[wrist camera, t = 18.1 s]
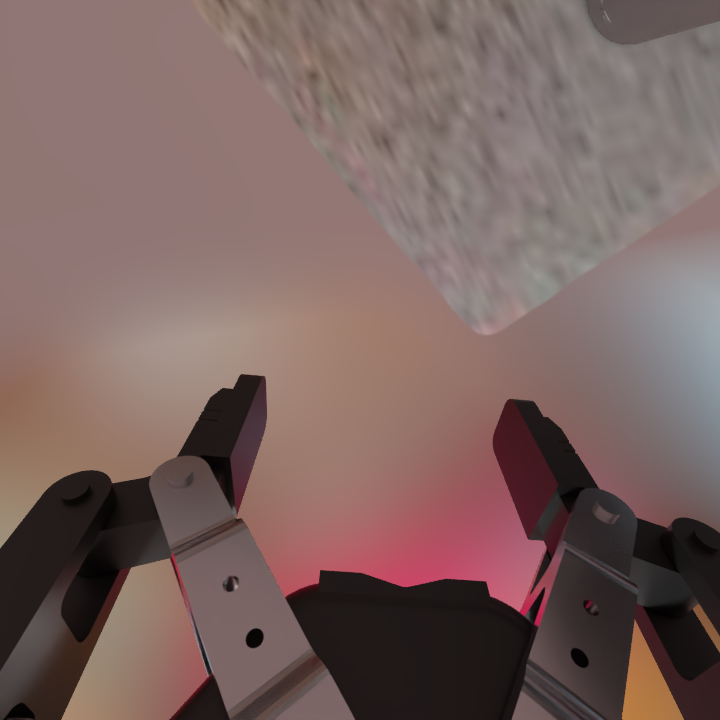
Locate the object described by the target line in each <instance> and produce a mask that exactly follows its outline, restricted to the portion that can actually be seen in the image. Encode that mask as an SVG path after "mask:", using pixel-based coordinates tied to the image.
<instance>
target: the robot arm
mask: <svg viewBox="0 0 720 720" xmlns="http://www.w3.org/2000/svg"><path fill="white" fill-rule="evenodd" d="M586 2H587V7H588V12H589V15H590V17H591V20H592V22H593V24H594V26H595V27H596V28H597V30H598V31H599V32H600V33H601V34H602V35H603V36H604V37H606V38H607V39H609V40H610V41H612V42H616V43H619V44H637V43H641V42H645V41H648V40H652V39H656V38H659V37H663V36H667V35H671V34H675V33H678V32H682V31H686V30H689V29H693V28H696V27H700V26H703V25H707V24H710V23H714V22H717V21H720V0H586ZM266 402H267V401H266V380H265V376H256V375H244V374H241V375H240V376H239V378H238V381H237V383H236V384H235V386H234V388H233V389H226V388H222V389H221V390H220V391H218V392H217V393H216V394H214V395H213V396H212V397H211V398H210V399H209V401H208V403H207V405H206V406H205V408H204V411H203V412H202V414H201V415H200V417H199V420H198V421H197V422H196V424H195V426H194V428H193V430H192V431H191V433H190V435H189V437H188V438H187V440H186V442H185V444H184V446H183V447H182V449H181V451H180V453H179V454H178V456H177V457H176V458H173V459H171V460H168V461H166V462H165V463H163V464H162V465H160V466H159V467H158V468H157V469H156V470H155V471H154V472H153V474H152V475H151V476H149V477H145V478H141V479H136V480H130V481H124V482H118V483H112V482H111V479H110V478H109V476H108V475H106V474H105V473H103V472H100V471H94V470H90V471H81V472H78V473H74V474H71V475H68V476H66V477H64V478H62V479H60V480H59V481H57V482H56V483H54V484H53V485H52V486H50V487H49V488H48V489H47V490H46V491H45V492H44V494H43V495H42V496H41V498H40V499H39V500H38V501H37V503H36V504H35V505H34V507H33V508H32V509H31V510H30V511H29V513H28V514H27V515H26V517H25V518H24V519H23V521H22V522H21V523H20V524H19V525H18V527H17V528H16V529H15V531H14V532H13V533H12V534H11V536H10V537H9V538H8V540H7V541H6V542H5V543H4V545H3V546H2V547H1V548H0V720H61V719H62V716H63V714H64V712H65V710H66V708H67V706H68V703H69V701H70V699H71V697H72V695H73V693H74V690H75V688H76V686H77V684H78V682H79V680H80V677H81V675H82V673H83V671H84V669H85V667H86V664H87V662H88V660H89V658H90V656H91V653H92V651H93V649H94V647H95V645H96V643H97V640H98V638H99V636H100V634H101V632H102V630H103V627H104V625H105V623H106V621H107V619H108V617H109V614H110V612H111V610H112V608H113V606H114V603H115V601H116V599H117V597H118V595H119V593H120V590H121V588H122V586H123V584H124V582H125V580H126V577H127V575H128V573H129V571H130V569H131V567H135V566H139V565H143V564H147V563H151V562H155V561H160V560H164V559H168V558H170V561H171V564H172V567H173V570H174V573H175V576H176V579H177V582H178V585H179V588H180V591H181V594H182V597H183V600H184V603H185V606H186V609H187V612H188V615H189V618H190V622H191V625H192V628H193V631H194V634H195V638H196V641H197V644H198V647H199V650H200V653H201V657H202V659H203V662H204V666H205V669H206V671H207V675H208V678H207V679H206V680H205V681H204V682H203V683H202V684H201V686H200V687H199V688H198V689H197V690H196V691H195V692H194V693H193V694H192V696H191V697H190V698H189V699H188V700H187V701H186V702H185V703H184V704H183V705H182V706H181V708H180V709H179V710H178V711H177V712H176V713H175V714H174V715H173V716H172V718H171V719H170V720H622V712H623V704H624V696H625V689H626V681H627V673H628V666H629V658H630V650H631V642H632V634H633V627H634V619H635V620H636V622H637V624H638V626H639V628H640V630H641V632H642V634H643V636H644V638H645V640H646V642H647V644H648V647H649V649H650V651H651V653H652V655H653V657H654V659H655V661H656V663H657V665H658V667H659V669H660V671H661V673H662V675H663V677H664V679H665V681H666V683H667V685H668V687H669V689H670V691H671V694H672V695H673V698H674V700H675V701H676V704H677V706H678V708H679V710H680V712H681V714H682V716H683V718H684V720H720V653H719V651H718V650H717V648H716V646H715V645H714V643H713V641H712V640H711V638H710V637H709V635H708V633H707V632H706V630H705V628H704V627H703V625H702V624H701V622H700V620H699V619H698V617H697V616H696V614H695V613H694V611H693V608H694V607H695V606H696V605H697V604H700V605H701V607H702V609H703V610H704V612H705V613H706V615H707V616H708V618H709V620H710V621H711V622H712V624H713V626H714V627H715V629H716V631H717V632H718V634H719V636H720V533H719V532H717V531H716V530H715V529H713V528H711V527H709V526H708V525H706V524H704V523H702V522H699V521H697V520H694V519H690V518H678V519H675V520H674V521H673V522H672V523H671V525H670V526H669V527H668V528H666V527H663V526H660V525H656V524H654V523H651V522H648V521H645V520H642V519H639V518H636V517H635V514H634V513H633V511H632V510H631V509H630V508H629V506H628V505H626V504H625V503H624V502H623V501H622V500H621V499H619V498H618V497H616V496H615V495H613V494H611V493H609V492H606V491H604V490H601V489H599V488H598V486H597V484H596V483H595V481H594V480H593V478H592V476H591V475H590V473H589V472H588V470H587V469H586V467H585V466H584V464H583V462H582V461H581V459H580V458H579V456H578V454H575V450H574V448H573V447H572V445H571V444H570V443H569V440H568V439H567V437H566V436H565V434H564V432H563V431H562V429H561V428H560V427H558V426H557V425H556V424H555V423H554V422H553V421H551V420H550V419H549V418H548V417H543V415H542V414H541V412H540V410H539V409H538V407H537V405H536V404H535V402H533V401H528V400H516V399H509V400H507V402H506V403H505V406H504V408H503V411H502V414H501V416H500V419H499V422H498V424H497V427H496V429H495V432H494V436H493V449H494V453H495V455H496V458H497V461H498V463H499V466H500V468H501V471H502V473H503V476H504V479H505V481H506V484H507V486H508V489H509V491H510V494H511V496H512V499H513V502H514V504H515V507H516V509H517V512H518V515H519V517H520V520H521V522H522V525H523V528H524V530H525V533H526V535H527V538H528V539H529V540H542V541H544V542H545V545H546V547H547V548H546V549H545V551H544V553H543V555H542V557H541V560H540V562H539V565H538V568H537V570H536V573H535V575H534V578H533V580H532V583H531V586H530V588H529V591H528V593H527V596H526V599H525V601H524V603H523V606H522V608H521V610H520V612H518V611H517V610H515V609H514V608H512V607H511V606H509V605H507V604H506V603H504V602H502V601H500V600H498V599H496V598H493V597H490V594H489V591H488V587H487V583H486V582H484V581H470V580H455V579H443V580H438V581H434V582H429V583H425V584H420V585H415V586H411V587H401V586H398V585H395V584H392V583H389V582H386V581H383V580H381V579H378V578H375V577H372V576H369V575H366V574H362V573H353V572H339V571H324V570H321V571H320V578H319V583H318V584H314V585H309V586H307V587H304V588H301V589H299V590H297V591H295V592H293V593H291V594H289V595H288V596H286V597H284V595H283V593H282V591H281V589H280V587H279V585H278V584H277V582H276V580H275V578H274V576H273V574H272V572H271V571H270V569H269V567H268V565H267V563H266V561H265V559H264V557H263V555H262V553H261V551H260V550H259V548H258V546H257V544H256V542H255V540H254V538H253V537H252V534H251V533H250V531H249V529H248V527H247V525H246V524H245V522H244V521H243V520H242V519H241V518H240V519H237V518H236V516H237V514H238V511H239V508H240V505H241V502H242V499H243V496H244V493H245V490H246V487H247V483H248V480H249V477H250V474H251V471H252V468H253V465H254V462H255V459H256V456H257V453H258V450H259V447H260V444H261V441H262V437H263V434H264V431H265V427H266V420H267V403H266Z"/></svg>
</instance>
